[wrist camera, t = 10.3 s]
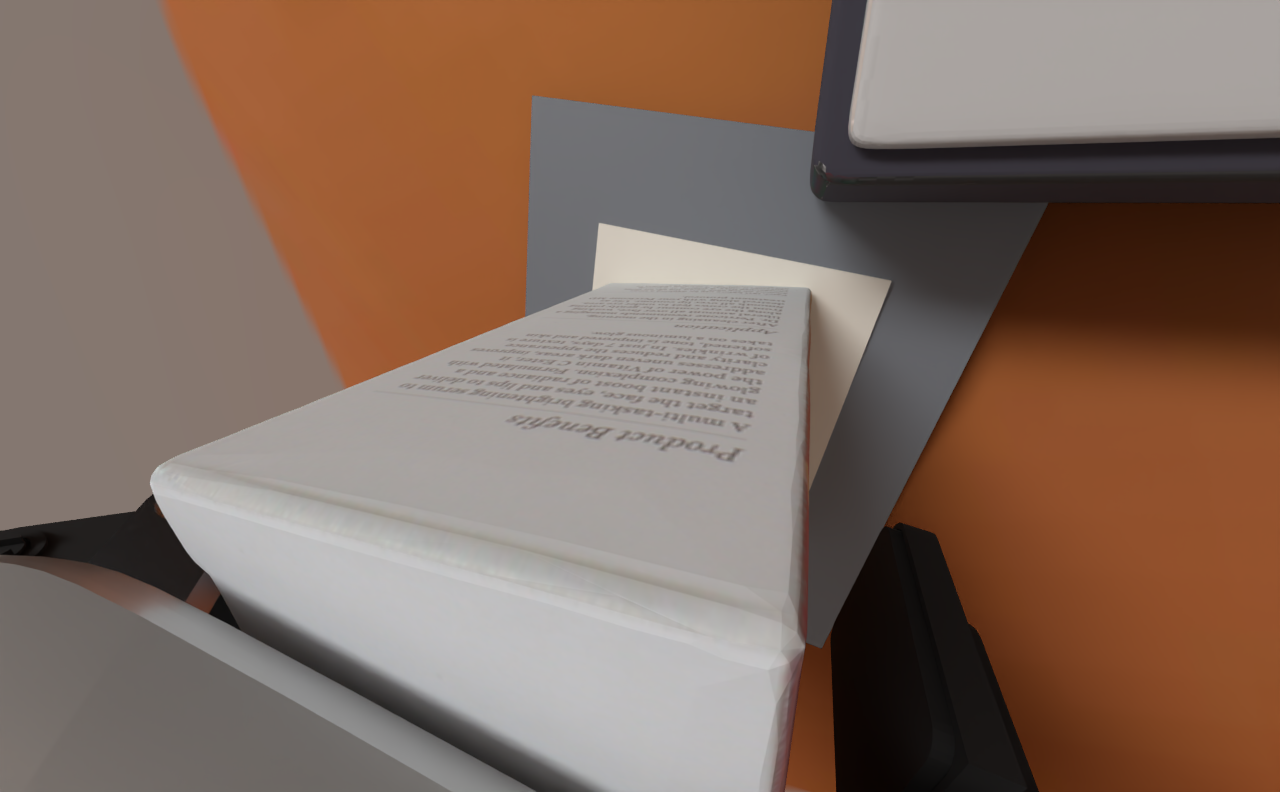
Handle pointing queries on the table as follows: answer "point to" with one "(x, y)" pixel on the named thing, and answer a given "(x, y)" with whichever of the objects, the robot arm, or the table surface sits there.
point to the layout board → (782, 284)
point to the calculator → (1050, 102)
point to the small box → (545, 538)
